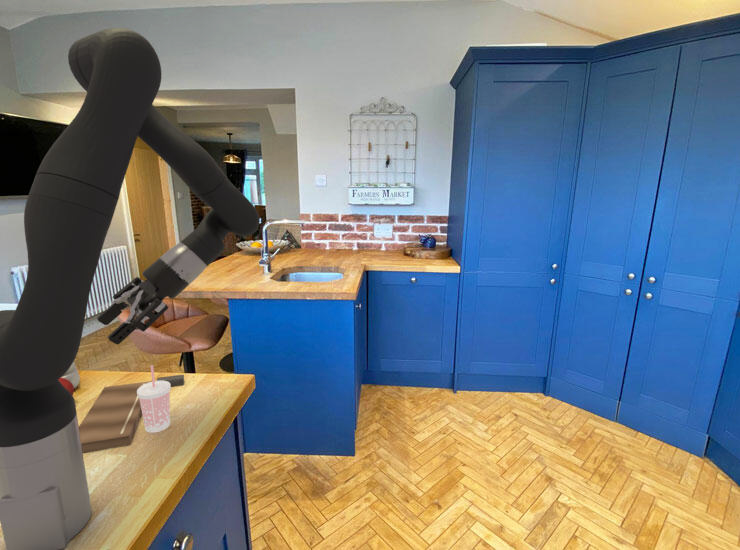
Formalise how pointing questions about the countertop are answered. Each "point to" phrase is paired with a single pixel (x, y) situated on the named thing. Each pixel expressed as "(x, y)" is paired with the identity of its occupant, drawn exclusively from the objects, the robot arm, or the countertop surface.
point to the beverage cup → (155, 404)
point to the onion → (67, 385)
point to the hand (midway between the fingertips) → (106, 331)
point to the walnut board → (115, 416)
